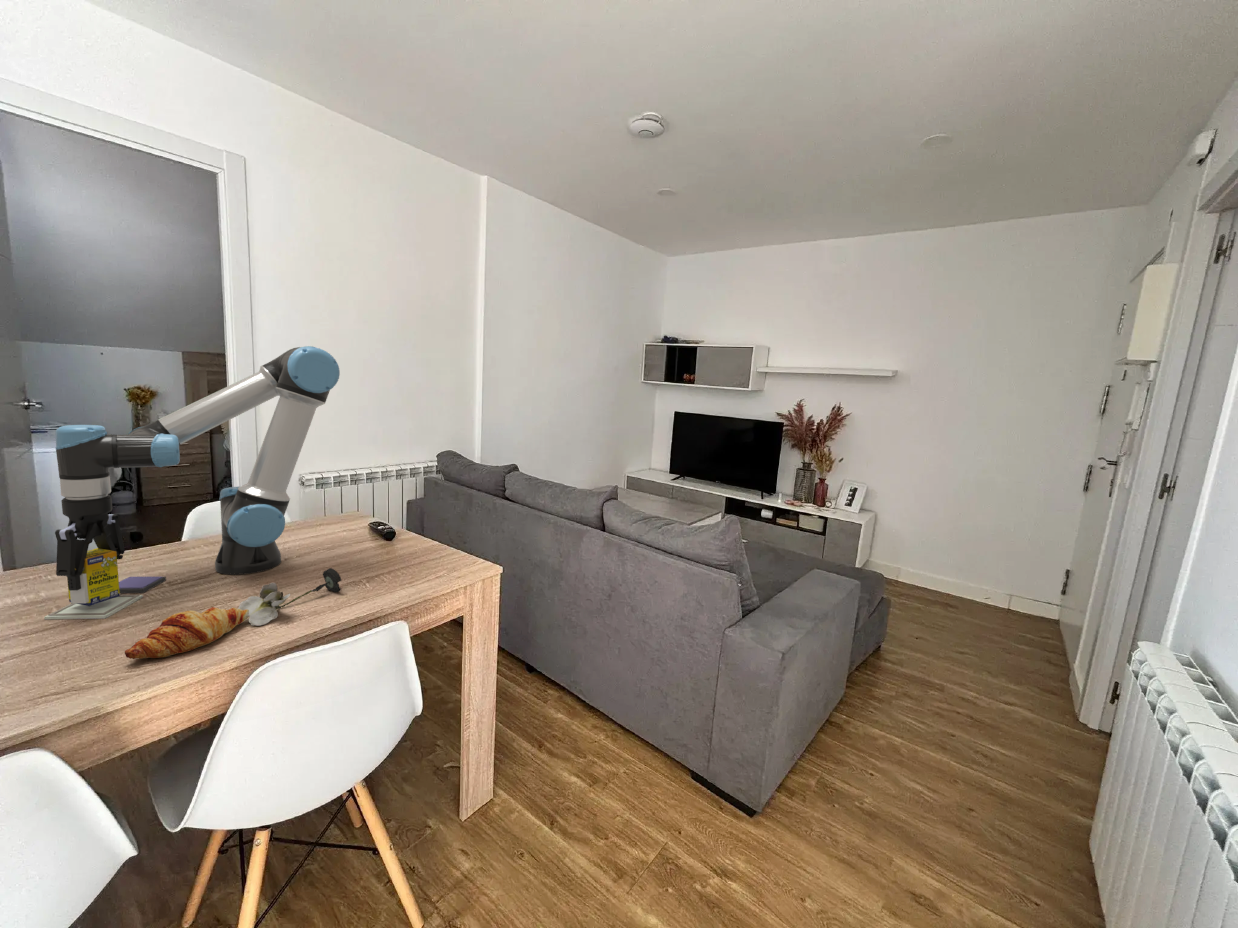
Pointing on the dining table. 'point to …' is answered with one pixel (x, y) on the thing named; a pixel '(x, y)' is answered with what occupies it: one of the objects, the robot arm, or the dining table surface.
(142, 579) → the ink pad
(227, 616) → the croissant
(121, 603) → the board
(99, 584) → the supplement box
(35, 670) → the dining table surface
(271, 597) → the artificial flower
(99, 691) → the dining table surface
